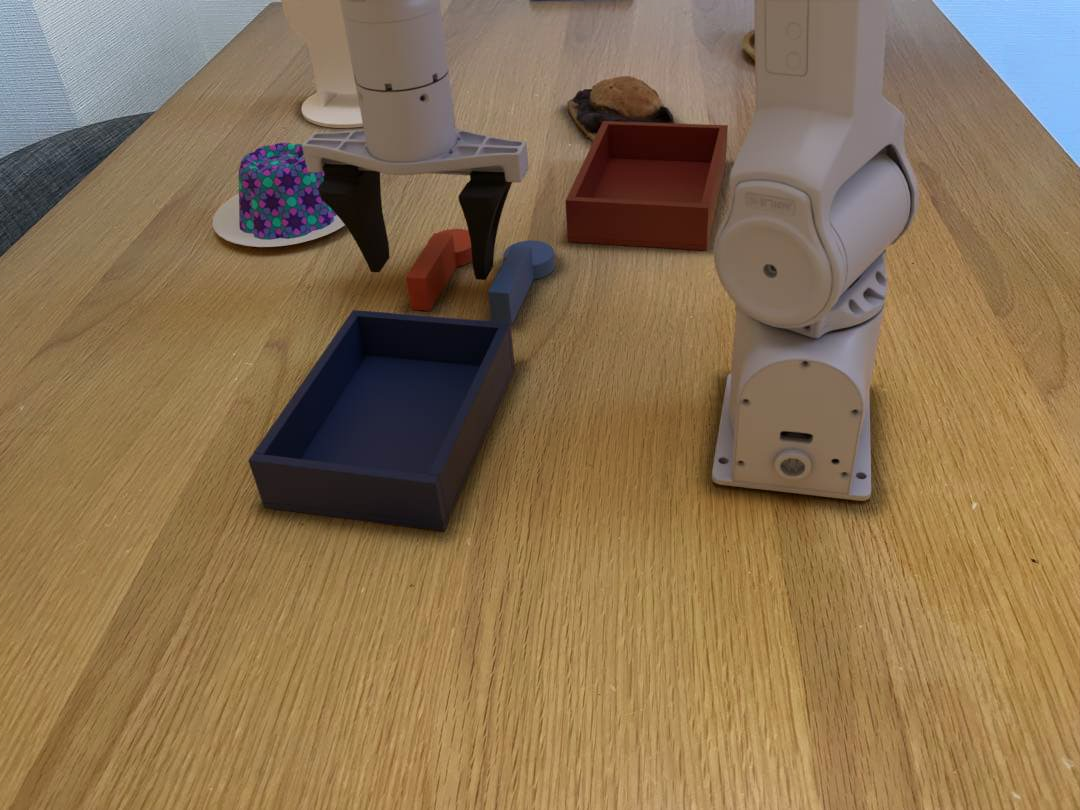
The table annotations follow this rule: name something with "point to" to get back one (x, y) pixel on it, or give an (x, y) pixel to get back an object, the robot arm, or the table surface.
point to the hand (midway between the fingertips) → (431, 268)
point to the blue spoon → (518, 277)
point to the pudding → (275, 201)
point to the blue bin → (387, 420)
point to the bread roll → (617, 104)
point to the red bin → (648, 185)
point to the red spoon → (437, 266)
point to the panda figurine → (326, 62)
